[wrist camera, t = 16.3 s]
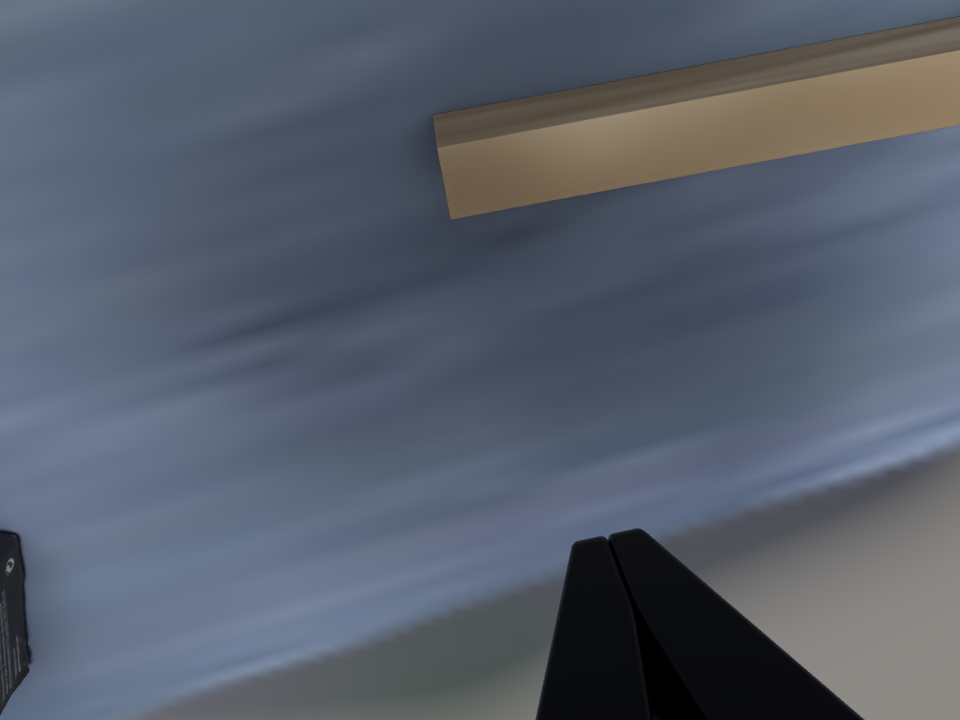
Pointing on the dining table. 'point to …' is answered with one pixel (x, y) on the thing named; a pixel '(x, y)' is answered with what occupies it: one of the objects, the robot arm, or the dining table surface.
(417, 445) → the dining table surface
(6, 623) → the small box
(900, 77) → the channel
